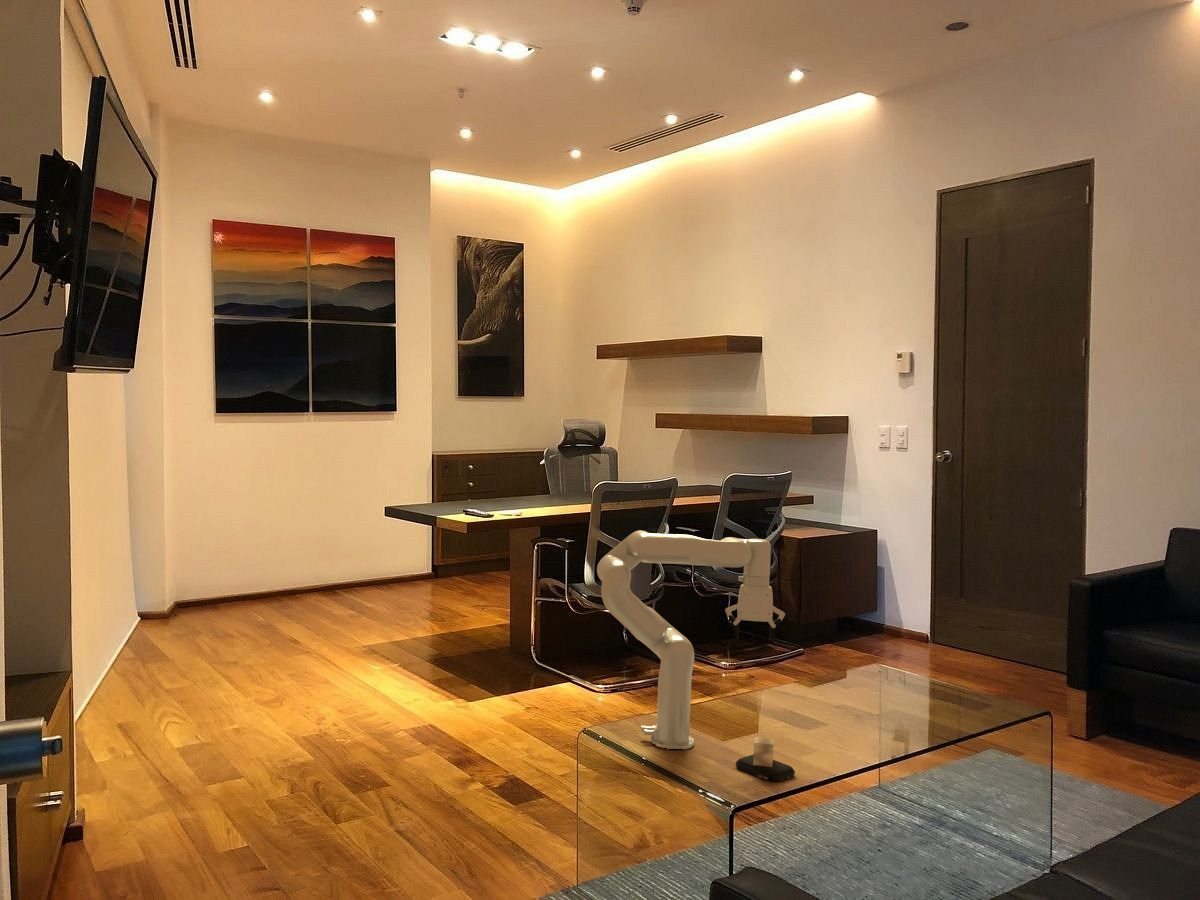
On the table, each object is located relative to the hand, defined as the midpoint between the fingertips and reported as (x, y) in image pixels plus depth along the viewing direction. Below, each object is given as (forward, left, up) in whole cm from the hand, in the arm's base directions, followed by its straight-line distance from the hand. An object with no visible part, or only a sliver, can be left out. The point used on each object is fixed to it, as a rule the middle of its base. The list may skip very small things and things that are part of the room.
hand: (753, 639), depth 277 cm
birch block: (+4, -24, -28) cm, 37 cm away
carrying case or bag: (+4, -24, -31) cm, 40 cm away
